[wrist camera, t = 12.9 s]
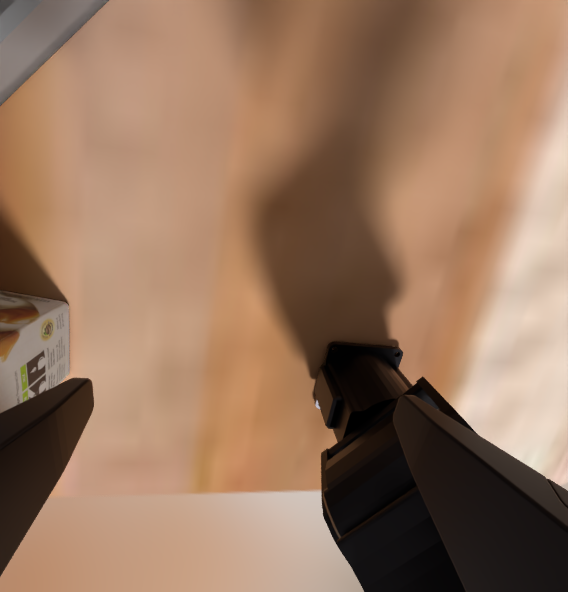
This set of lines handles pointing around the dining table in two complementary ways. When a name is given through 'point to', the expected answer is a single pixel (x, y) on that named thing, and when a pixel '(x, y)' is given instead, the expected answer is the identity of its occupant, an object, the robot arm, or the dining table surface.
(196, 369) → the dining table surface
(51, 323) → the coffee box
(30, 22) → the parts bin
